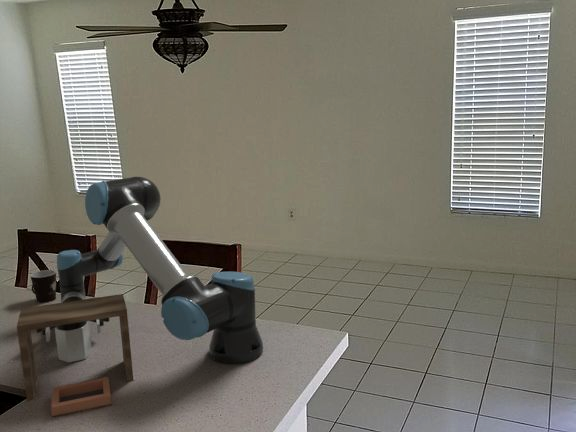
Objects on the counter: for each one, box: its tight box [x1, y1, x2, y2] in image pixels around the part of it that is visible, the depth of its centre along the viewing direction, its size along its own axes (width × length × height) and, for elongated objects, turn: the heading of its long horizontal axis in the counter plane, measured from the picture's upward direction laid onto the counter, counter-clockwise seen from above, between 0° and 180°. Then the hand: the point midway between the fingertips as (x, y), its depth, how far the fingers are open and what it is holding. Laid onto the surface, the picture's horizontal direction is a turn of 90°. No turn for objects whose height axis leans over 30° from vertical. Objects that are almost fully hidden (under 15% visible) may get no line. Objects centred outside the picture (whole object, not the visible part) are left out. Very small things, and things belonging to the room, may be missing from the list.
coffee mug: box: [29, 269, 57, 304], centre depth 198 cm, size 12×9×10 cm
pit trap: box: [50, 376, 112, 418], centre depth 132 cm, size 10×13×2 cm
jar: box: [54, 321, 93, 363], centre depth 154 cm, size 9×8×12 cm
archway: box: [16, 293, 134, 402], centre depth 140 cm, size 12×25×20 cm, turn 111°
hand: (73, 332), depth 155 cm, fingers open, 13 cm apart
